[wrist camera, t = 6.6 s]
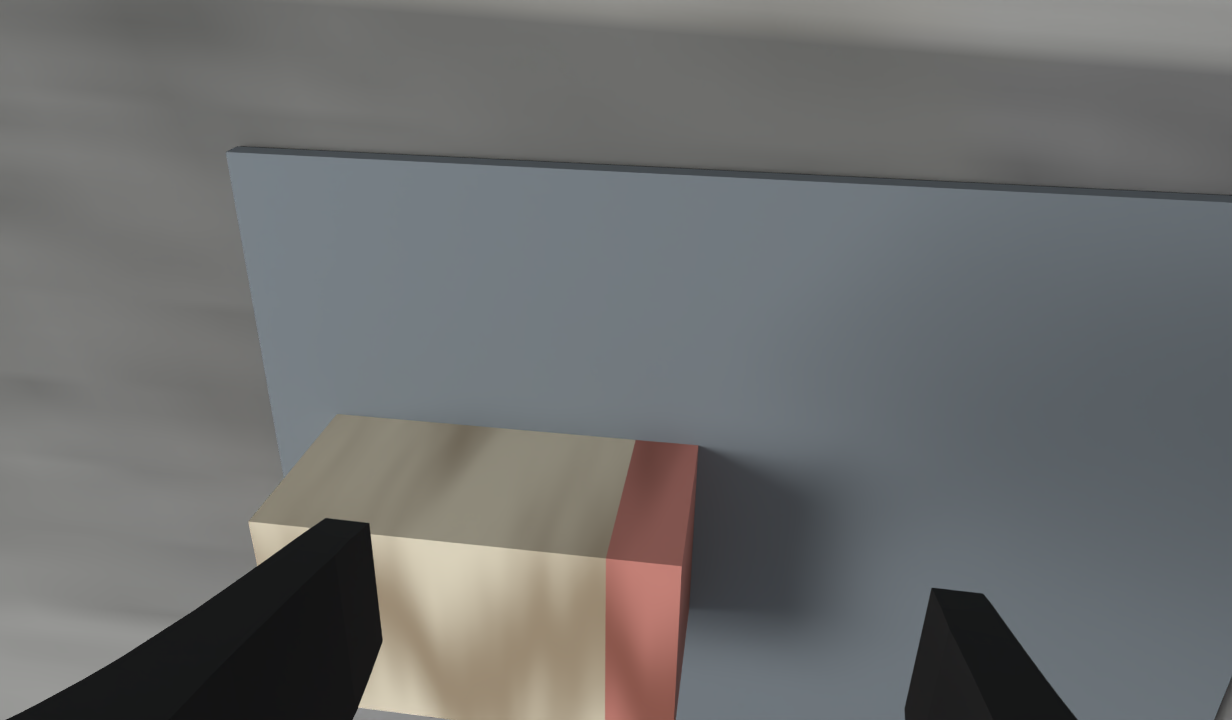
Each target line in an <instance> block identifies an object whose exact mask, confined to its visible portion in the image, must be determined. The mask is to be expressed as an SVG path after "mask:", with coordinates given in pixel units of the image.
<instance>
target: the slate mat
mask: <svg viewBox="0 0 1232 720" xmlns="http://www.w3.org/2000/svg"><path fill="white" fill-rule="evenodd" d="M226 156H227V161H228V167H229V173H230V178H231V184H232V189H233V195H234V201H235V206H236V212H237V218H238V223H239V229H240V234H241V240H242V246H243V251H244V257H245V263H246V268H247V274H248V279H249V285H250V291H251V296H252V302H253V308H254V313H255V319H256V324H257V330H258V336H259V341H260V347H261V353H262V358H263V364H264V370H265V375H266V381H267V386H268V392H269V398H270V403H271V409H272V415H273V420H274V426H275V431H276V437H277V443H278V448H279V454H280V460H281V465H282V471H283V476H284V478H285V477H286V475H287V474H288V473H289V472H290V470H291V469H292V468H293V467H294V466H295V464H296V463H297V462H298V461H299V460H300V458H301V457H302V456H303V455H304V453H305V452H306V451H307V450H308V449H309V447H310V446H311V445H312V444H313V443H314V441H315V440H316V439H317V438H318V437H319V435H320V434H321V433H322V432H323V430H324V429H325V428H326V427H327V426H328V424H329V423H330V422H331V421H332V420H333V418H334V417H335V416H336V415H337V414H343V415H354V416H366V417H377V418H389V419H400V420H412V421H423V422H435V423H447V424H458V425H470V426H481V427H493V428H504V429H516V430H527V431H539V432H550V433H562V434H573V435H585V436H596V437H608V438H619V439H631V440H642V441H654V442H665V443H677V444H688V445H698V461H697V479H696V496H695V514H694V531H693V549H692V567H691V584H690V602H689V614H688V622H687V631H686V639H685V647H684V656H683V664H682V673H681V681H680V689H679V698H678V706H677V714H676V720H905V711H904V708H905V704H906V700H907V695H908V691H909V686H910V682H911V677H912V673H913V668H914V664H915V659H916V655H917V650H918V646H919V642H920V637H921V633H922V628H923V624H924V619H925V615H926V610H927V606H928V601H929V597H930V592H931V588H940V589H949V590H957V591H966V592H975V593H983V594H984V595H985V596H986V598H987V599H988V600H989V601H990V602H991V604H992V605H993V607H994V608H995V609H996V611H997V612H998V613H999V615H1000V616H1001V618H1002V619H1003V620H1004V622H1005V623H1006V625H1007V626H1008V627H1009V629H1010V630H1011V632H1012V633H1013V634H1014V636H1015V637H1016V639H1017V640H1018V641H1019V643H1020V644H1021V645H1022V647H1023V648H1024V650H1025V651H1026V652H1027V654H1028V655H1029V656H1030V658H1031V659H1032V661H1033V662H1034V663H1035V665H1036V666H1037V667H1038V669H1039V670H1040V671H1041V673H1042V674H1043V675H1044V677H1045V678H1046V679H1047V681H1048V682H1049V683H1050V685H1051V686H1052V687H1053V689H1054V690H1055V691H1056V693H1057V694H1058V695H1059V697H1060V698H1061V699H1062V700H1063V702H1064V703H1065V704H1066V705H1067V707H1068V708H1069V709H1070V710H1071V712H1072V713H1073V714H1074V716H1075V717H1076V718H1077V719H1078V720H1214V719H1215V716H1216V714H1217V711H1218V709H1219V706H1220V704H1221V702H1222V699H1223V697H1224V694H1225V692H1226V689H1227V687H1228V684H1229V682H1230V679H1231V677H1232V196H1229V195H1209V194H1189V193H1169V192H1149V191H1128V190H1108V189H1088V188H1068V187H1047V186H1027V185H1007V184H987V183H966V182H946V181H926V180H906V179H886V178H865V177H845V176H825V175H805V174H784V173H764V172H744V171H724V170H703V169H683V168H663V167H643V166H622V165H602V164H582V163H562V162H542V161H521V160H501V159H481V158H461V157H440V156H420V155H400V154H380V153H359V152H339V151H319V150H299V149H279V148H258V147H238V146H237V147H235V148H233V149H231V150H229V151H227V152H226Z"/></svg>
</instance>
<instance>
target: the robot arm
mask: <svg viewBox="0 0 1232 720" xmlns="http://www.w3.org/2000/svg"><path fill="white" fill-rule="evenodd" d="M382 642H383V638H382V629H381V620H380V612H379V603H378V594H377V585H376V576H375V568H374V559H373V550H372V541H371V533H370V524H369V523H365V522H357V521H348V520H339V519H331V518H325V519H323V520H322V521H320V522H319V523H317V524H316V525H314V526H313V527H311V528H310V529H308V530H307V531H306V532H304V533H303V534H301V535H300V536H299V537H297V538H296V539H294V540H293V541H291V542H290V543H289V544H287V545H286V546H285V547H283V548H282V549H280V550H279V551H278V552H276V553H275V554H273V555H272V556H271V557H269V558H268V559H267V560H265V561H264V562H262V563H261V564H260V565H258V566H257V567H255V568H254V569H253V570H251V571H250V572H248V573H247V574H246V575H244V576H243V577H241V578H240V579H238V580H237V581H236V582H234V583H233V584H231V585H230V586H229V587H227V588H226V589H224V590H223V591H221V592H220V593H219V594H217V595H216V596H214V597H213V598H211V599H210V600H209V601H207V602H206V603H204V604H203V605H201V606H200V607H198V608H197V609H196V610H194V611H193V612H191V613H189V614H188V615H186V616H185V617H183V618H182V619H180V620H178V621H177V622H175V623H174V624H172V625H171V626H169V627H168V628H166V629H164V630H163V631H161V632H160V633H158V634H157V635H155V636H154V637H152V638H150V639H149V640H147V641H146V642H144V643H143V644H141V645H140V646H138V647H136V648H135V649H133V650H132V651H130V652H129V653H127V654H126V655H124V656H122V657H121V658H119V659H117V660H116V661H114V662H112V663H111V664H109V665H107V666H106V667H104V668H102V669H100V670H99V671H97V672H95V673H93V674H92V675H90V676H88V677H86V678H85V679H83V680H81V681H79V682H78V683H76V684H74V685H72V686H70V687H68V688H66V689H65V690H63V691H61V692H59V693H57V694H55V695H53V696H52V697H50V698H48V699H46V700H44V701H42V702H40V703H39V704H37V705H35V706H33V707H31V708H29V709H27V710H25V711H23V712H21V713H19V714H17V715H15V716H13V717H11V718H9V719H7V720H352V719H353V717H354V715H355V713H356V711H357V709H358V706H359V704H360V701H361V699H362V696H363V694H364V691H365V689H366V686H367V683H368V681H369V678H370V675H371V673H372V670H373V667H374V664H375V662H376V659H377V656H378V653H379V650H380V648H381V645H382ZM904 711H905V720H1078V719H1077V718H1076V717H1075V716H1074V714H1073V713H1072V712H1071V710H1070V709H1069V708H1068V707H1067V705H1066V704H1065V703H1064V702H1063V700H1062V699H1061V698H1060V697H1059V695H1058V694H1057V693H1056V691H1055V690H1054V689H1053V687H1052V686H1051V685H1050V683H1049V682H1048V681H1047V679H1046V678H1045V677H1044V675H1043V674H1042V673H1041V671H1040V670H1039V669H1038V667H1037V666H1036V665H1035V663H1034V662H1033V661H1032V659H1031V658H1030V656H1029V655H1028V654H1027V652H1026V651H1025V650H1024V648H1023V647H1022V645H1021V644H1020V643H1019V641H1018V640H1017V639H1016V637H1015V636H1014V634H1013V633H1012V632H1011V630H1010V629H1009V627H1008V626H1007V625H1006V623H1005V622H1004V620H1003V619H1002V618H1001V616H1000V615H999V613H998V612H997V611H996V609H995V608H994V607H993V605H992V604H991V602H990V601H989V600H988V599H987V598H986V596H985V595H984V594H983V593H975V592H966V591H957V590H949V589H940V588H931V592H930V597H929V601H928V606H927V610H926V615H925V619H924V624H923V628H922V633H921V637H920V642H919V646H918V650H917V655H916V659H915V664H914V668H913V673H912V677H911V682H910V686H909V691H908V695H907V700H906V704H905V708H904Z"/></svg>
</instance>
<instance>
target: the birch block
mask: <svg viewBox="0 0 1232 720" xmlns="http://www.w3.org/2000/svg"><path fill="white" fill-rule="evenodd" d="M697 461H698V445H688V444H677V443H665V442H654V441H642V440H631V439H619V438H608V437H596V436H585V435H573V434H562V433H550V432H539V431H527V430H516V429H504V428H493V427H481V426H470V425H458V424H447V423H435V422H423V421H412V420H400V419H389V418H377V417H366V416H354V415H343V414H337V415H336V416H335V417H334V418H333V420H332V421H331V422H330V423H329V424H328V426H327V427H326V428H325V429H324V430H323V432H322V433H321V434H320V435H319V437H318V438H317V439H316V440H315V441H314V443H313V444H312V445H311V446H310V447H309V449H308V450H307V451H306V452H305V453H304V455H303V456H302V457H301V458H300V460H299V461H298V462H297V463H296V464H295V466H294V467H293V468H292V469H291V470H290V472H289V473H288V474H287V475H286V477H285V478H284V479H283V480H282V481H281V483H280V484H279V485H278V486H277V487H276V489H275V490H274V491H273V492H272V494H271V495H270V496H269V497H268V498H267V500H266V501H265V502H264V503H263V504H262V506H261V507H260V508H259V509H258V511H257V512H256V513H255V514H254V515H253V517H252V518H251V519H250V520H249V521H248V522H249V527H250V532H251V537H252V542H253V547H254V552H255V556H256V561H257V566H258V565H260V564H261V563H262V562H264V561H265V560H267V559H268V558H269V557H271V556H272V555H273V554H275V553H276V552H278V551H279V550H280V549H282V548H283V547H285V546H286V545H287V544H289V543H290V542H291V541H293V540H294V539H296V538H297V537H299V536H300V535H301V534H303V533H304V532H306V531H307V530H308V529H310V528H311V527H313V526H314V525H316V524H317V523H319V522H320V521H322V520H323V519H325V518H331V519H339V520H348V521H357V522H365V523H369V524H370V533H371V541H372V550H373V559H374V568H375V576H376V585H377V594H378V603H379V612H380V620H381V629H382V638H383V642H382V645H381V648H380V650H379V653H378V656H377V659H376V662H375V664H374V667H373V670H372V673H371V675H370V678H369V681H368V683H367V686H366V689H365V691H364V694H363V696H362V699H361V701H360V704H359V706H358V708H365V709H373V710H381V711H389V712H397V713H404V714H412V715H420V716H428V717H436V718H443V719H451V720H676V714H677V706H678V698H679V689H680V681H681V673H682V664H683V656H684V647H685V639H686V631H687V622H688V614H689V602H690V584H691V567H692V549H693V531H694V514H695V496H696V479H697Z"/></svg>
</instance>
